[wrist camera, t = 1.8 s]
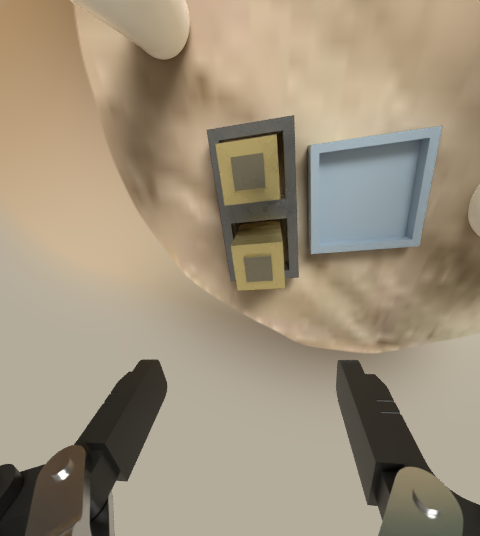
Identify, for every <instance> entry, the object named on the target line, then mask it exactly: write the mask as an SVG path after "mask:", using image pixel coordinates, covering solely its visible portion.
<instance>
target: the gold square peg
mask: <svg viewBox="0 0 480 536" xmlns="http://www.w3.org/2000/svg"><path fill="white" fill-rule="evenodd" d="M231 251H232V258H233V264H234V271H235V278H236V284H237V291H239V290H258V289H278V288H285V275H284V257H283V241H282V234H281V227H280V220H278V221H267V222H257V223H247V224H241V226H240V228H239V230H238V232H237V234H236V236H235V238H234V240H233V242H232V245H231Z"/></svg>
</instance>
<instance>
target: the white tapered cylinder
mask: <svg viewBox="0 0 480 536" xmlns="http://www.w3.org/2000/svg"><path fill="white" fill-rule="evenodd" d="M70 1H71V2H73V3H74V4H76V5H77V6H79V7H80V8H82V9H84V10H85V11H87V12H88V13H90V14H91V15H93V16H94V17H96V18H97V19H99V20H100V21H102V22H104V23H105V24H107V25H108V26H110V27H111V28H113V29H114V30H116V31H117V32H119V33H120V34H122V35H123V36H125V37H126V38H128V39H129V40H131V41H132V42H134V43H135V44H137V45H138V46H139V47H141V48H142V49H143V50H144V51H145V52H146V53H148V54H149V55H151V56H152V57H154V58H157V59H162V60H166V59H171V58H173V57H175V56H176V55H178V54H179V53H180V52H181V51H182V49H183V48H184V46H185V44H186V42H187V39H188V36H189V30H190V16H189V10H188V6H187V3H186V0H70Z"/></svg>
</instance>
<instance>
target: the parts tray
mask: <svg viewBox="0 0 480 536" xmlns="http://www.w3.org/2000/svg"><path fill="white" fill-rule="evenodd" d="M441 131H442V126H437V127H430V128H423V129H416V130H409V131H402V132H396V133H389V134H382V135H375V136H368V137H362V138H355V139H348V140H341V141H334V142H328V143H321V144H314V145H309V146H308V217H309V250H310V253H311V254H319V253H333V252H347V251H361V250H374V249H388V248H402V247H415V246H419V245H420V240H421V235H422V230H423V224H424V219H425V214H426V209H427V204H428V198H429V193H430V188H431V183H432V178H433V172H434V167H435V162H436V157H437V152H438V146H439V141H440V136H441Z"/></svg>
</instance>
